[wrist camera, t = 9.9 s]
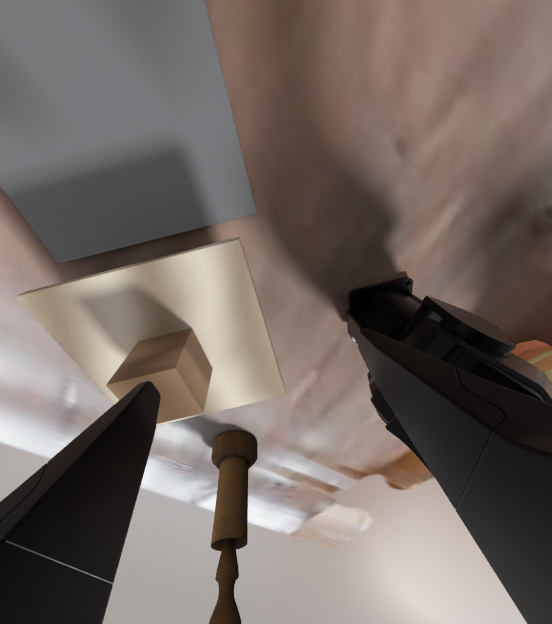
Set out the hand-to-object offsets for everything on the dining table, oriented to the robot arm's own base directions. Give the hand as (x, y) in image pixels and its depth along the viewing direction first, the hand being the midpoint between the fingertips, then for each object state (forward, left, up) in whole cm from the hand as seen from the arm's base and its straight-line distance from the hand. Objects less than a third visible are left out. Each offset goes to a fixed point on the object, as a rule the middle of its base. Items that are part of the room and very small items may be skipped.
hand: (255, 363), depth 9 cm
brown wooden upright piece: (+10, +26, -13) cm, 31 cm away
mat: (+7, -13, -13) cm, 20 cm away
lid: (+7, +3, -7) cm, 10 cm away
